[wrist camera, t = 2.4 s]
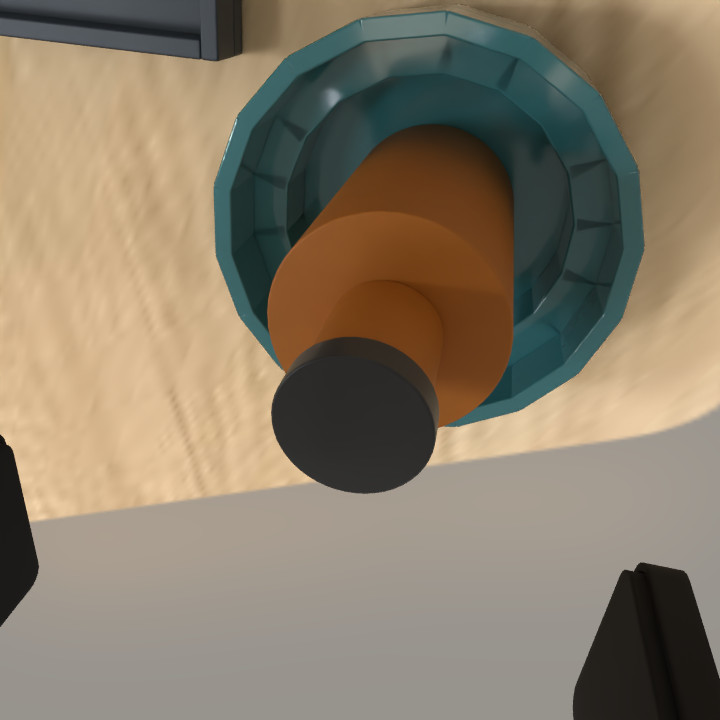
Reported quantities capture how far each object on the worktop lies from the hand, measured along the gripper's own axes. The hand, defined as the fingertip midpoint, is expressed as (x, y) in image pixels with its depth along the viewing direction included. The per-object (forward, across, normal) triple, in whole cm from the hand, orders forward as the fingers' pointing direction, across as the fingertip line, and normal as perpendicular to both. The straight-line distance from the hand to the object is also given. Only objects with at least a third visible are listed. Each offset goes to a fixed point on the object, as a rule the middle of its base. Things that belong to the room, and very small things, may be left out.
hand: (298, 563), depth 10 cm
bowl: (+18, 0, 0) cm, 18 cm away
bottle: (+17, 0, 0) cm, 17 cm away
